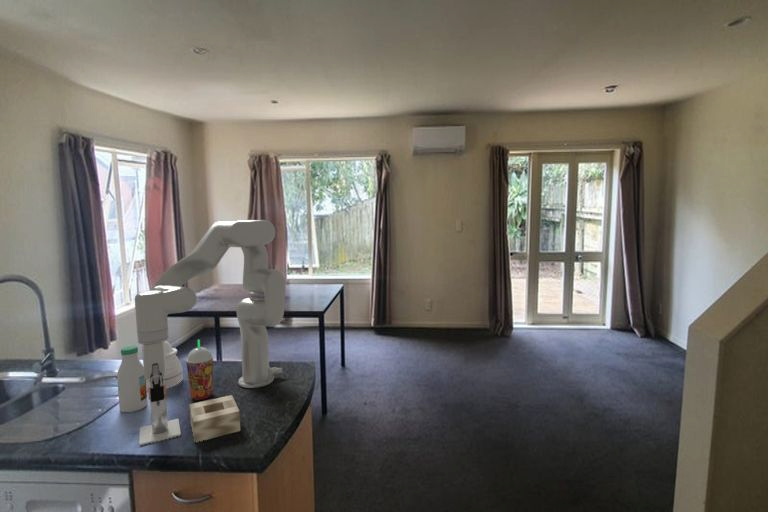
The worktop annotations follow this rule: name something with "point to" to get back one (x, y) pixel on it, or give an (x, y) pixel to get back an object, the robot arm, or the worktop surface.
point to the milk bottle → (131, 381)
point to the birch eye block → (214, 418)
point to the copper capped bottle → (159, 414)
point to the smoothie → (200, 372)
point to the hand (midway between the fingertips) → (157, 393)
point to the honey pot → (170, 368)
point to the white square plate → (149, 437)
